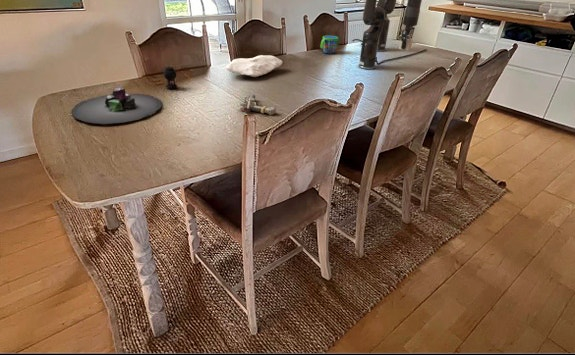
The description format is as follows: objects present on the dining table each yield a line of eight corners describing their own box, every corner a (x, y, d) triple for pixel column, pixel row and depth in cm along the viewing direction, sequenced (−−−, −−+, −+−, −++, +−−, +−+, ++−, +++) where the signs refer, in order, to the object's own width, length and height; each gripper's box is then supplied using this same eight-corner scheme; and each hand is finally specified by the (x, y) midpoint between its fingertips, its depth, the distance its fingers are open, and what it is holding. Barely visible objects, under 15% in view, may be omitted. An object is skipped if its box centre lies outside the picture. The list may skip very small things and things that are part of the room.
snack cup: (333, 49, 252) (334, 34, 247) (343, 53, 245) (344, 37, 239) (315, 52, 245) (316, 36, 239) (324, 55, 237) (326, 39, 232)
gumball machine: (165, 90, 172) (162, 69, 166) (163, 86, 176) (159, 65, 171) (180, 88, 175) (177, 67, 169) (177, 85, 179) (174, 64, 174)
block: (398, 48, 204) (400, 39, 202) (401, 47, 208) (403, 38, 205) (407, 50, 202) (409, 41, 199) (410, 48, 206) (412, 39, 203)
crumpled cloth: (213, 69, 198) (213, 53, 192) (266, 60, 216) (267, 45, 210) (236, 88, 185) (236, 71, 179) (290, 76, 203) (292, 61, 197)
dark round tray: (174, 113, 149) (170, 91, 144) (79, 131, 131) (72, 107, 127) (148, 93, 173) (144, 73, 169) (65, 106, 156) (59, 85, 151)
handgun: (275, 94, 165) (242, 93, 164) (275, 109, 150) (239, 108, 149) (275, 100, 167) (242, 99, 166) (275, 115, 152) (239, 114, 151)
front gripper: (414, 18, 189) (406, 51, 198) (422, 14, 199) (415, 47, 208) (400, 16, 192) (393, 49, 201) (409, 13, 202) (402, 44, 211)
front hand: (404, 47), depth 205 cm, fingers closed on block, 5 cm apart
